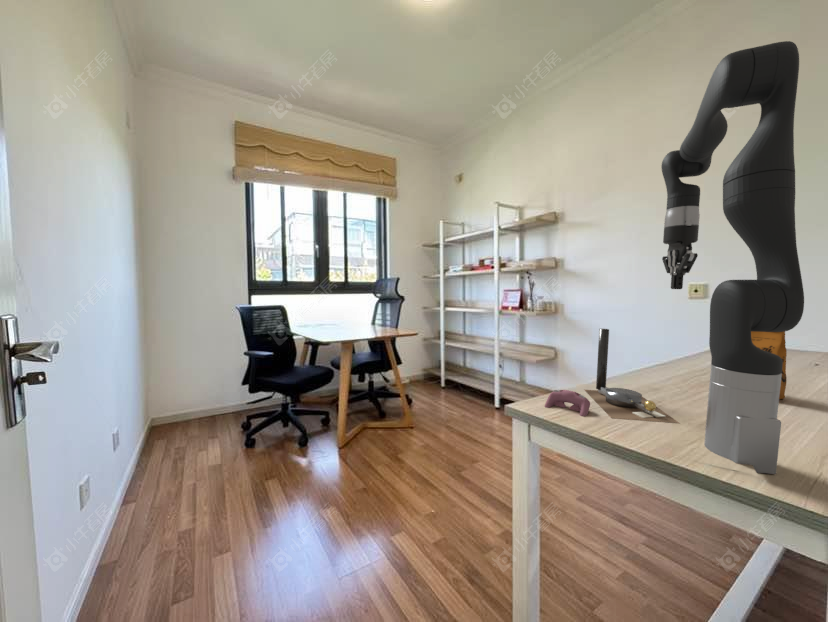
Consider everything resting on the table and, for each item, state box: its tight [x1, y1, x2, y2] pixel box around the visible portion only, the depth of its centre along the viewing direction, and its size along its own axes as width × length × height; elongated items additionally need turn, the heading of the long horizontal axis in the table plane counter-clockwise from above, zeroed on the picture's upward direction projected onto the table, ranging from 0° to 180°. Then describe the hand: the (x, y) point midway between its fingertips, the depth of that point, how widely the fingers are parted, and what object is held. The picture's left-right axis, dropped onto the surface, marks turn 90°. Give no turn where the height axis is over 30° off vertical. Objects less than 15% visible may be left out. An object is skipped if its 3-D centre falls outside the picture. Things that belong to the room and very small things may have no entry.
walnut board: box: [583, 389, 681, 424], centre depth 88 cm, size 22×14×2 cm, turn 169°
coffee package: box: [751, 331, 788, 400], centre depth 100 cm, size 10×12×22 cm
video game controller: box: [544, 389, 591, 417], centre depth 85 cm, size 10×5×7 cm, turn 49°
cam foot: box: [595, 328, 657, 413], centre depth 88 cm, size 18×8×18 cm, turn 11°
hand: (676, 289), depth 95 cm, fingers closed
